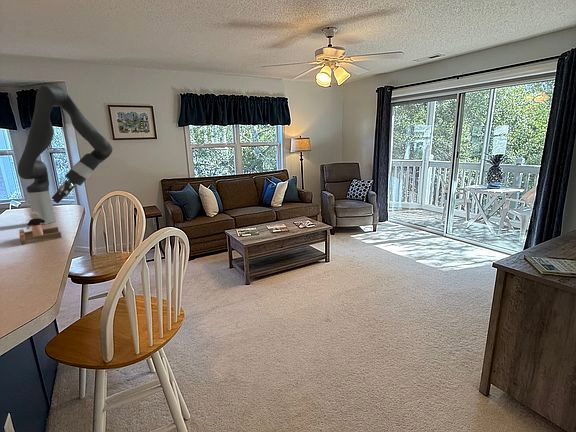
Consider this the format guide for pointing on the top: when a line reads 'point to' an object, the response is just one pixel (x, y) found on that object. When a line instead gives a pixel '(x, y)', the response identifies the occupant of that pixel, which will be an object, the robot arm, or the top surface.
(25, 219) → the top surface
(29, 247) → the top surface
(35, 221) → the grandmother figurine
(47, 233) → the trap box
